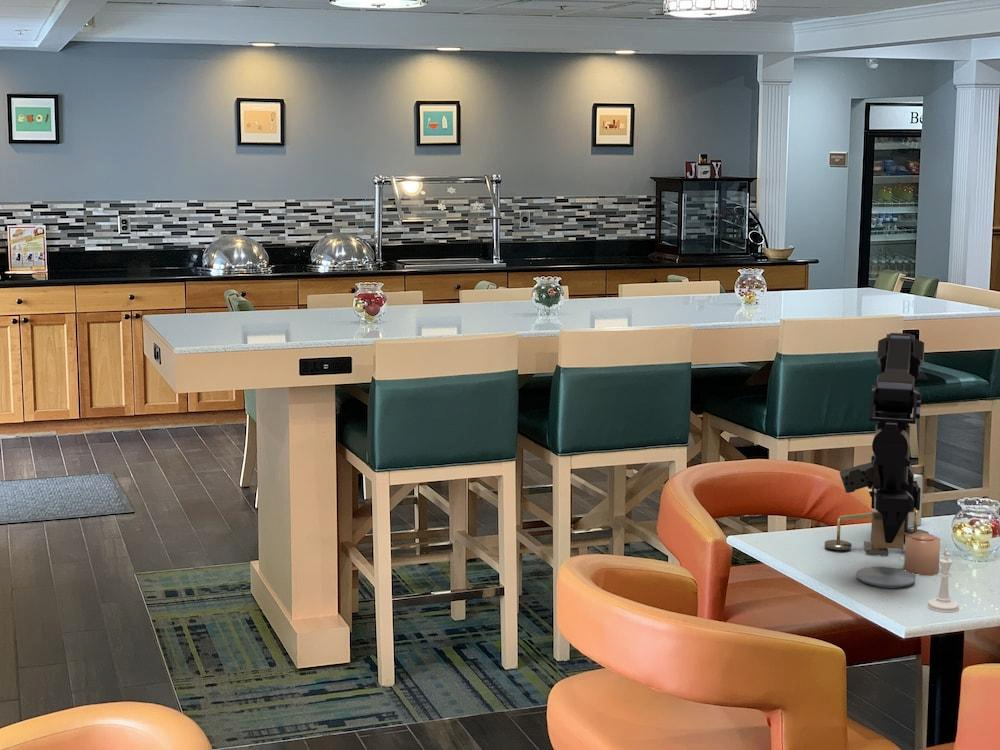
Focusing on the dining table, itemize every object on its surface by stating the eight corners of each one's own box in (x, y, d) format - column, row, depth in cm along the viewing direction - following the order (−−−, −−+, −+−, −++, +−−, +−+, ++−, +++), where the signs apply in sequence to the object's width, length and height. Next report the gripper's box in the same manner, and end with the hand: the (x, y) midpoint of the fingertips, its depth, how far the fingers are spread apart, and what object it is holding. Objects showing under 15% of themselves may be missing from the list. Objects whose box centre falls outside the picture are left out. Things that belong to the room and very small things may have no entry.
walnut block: (870, 539, 230) (872, 512, 230) (900, 541, 229) (901, 513, 229) (873, 547, 225) (874, 519, 225) (903, 549, 224) (904, 521, 224)
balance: (823, 544, 251) (825, 499, 250) (925, 549, 248) (928, 504, 246) (825, 552, 246) (827, 507, 244) (929, 558, 242) (932, 512, 241)
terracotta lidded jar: (902, 564, 238) (903, 530, 237) (936, 566, 237) (938, 532, 236) (905, 574, 232) (907, 539, 231) (940, 576, 231) (942, 541, 230)
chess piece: (938, 613, 211) (942, 554, 210) (921, 604, 216) (924, 546, 214) (965, 611, 212) (968, 552, 211) (947, 601, 217) (950, 543, 216)
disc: (853, 570, 234) (854, 565, 234) (911, 574, 232) (911, 568, 232) (858, 587, 224) (858, 581, 224) (918, 591, 222) (918, 585, 222)
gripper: (840, 439, 235) (836, 522, 238) (847, 460, 217) (843, 550, 220) (904, 441, 233) (899, 525, 236) (916, 463, 215) (911, 554, 218)
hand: (887, 538), depth 227 cm, fingers closed on walnut block, 5 cm apart
